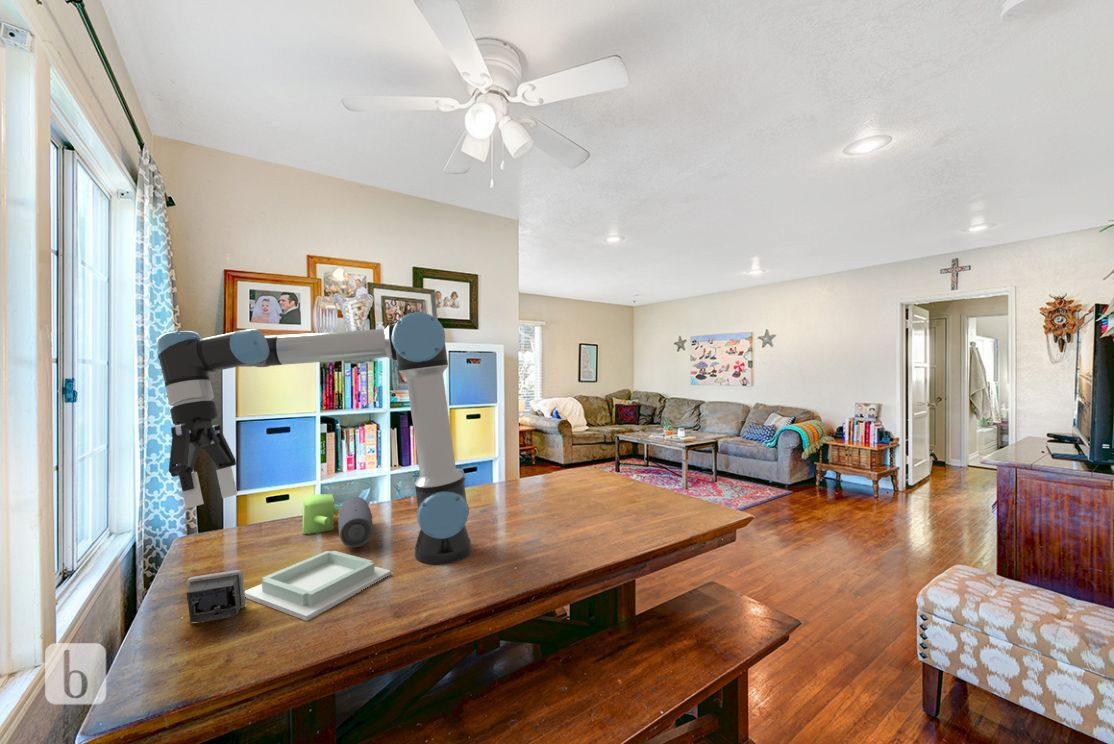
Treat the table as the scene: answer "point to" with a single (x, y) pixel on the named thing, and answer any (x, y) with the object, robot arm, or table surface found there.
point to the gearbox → (318, 513)
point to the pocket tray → (316, 584)
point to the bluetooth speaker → (355, 522)
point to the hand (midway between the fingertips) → (213, 501)
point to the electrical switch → (215, 595)
